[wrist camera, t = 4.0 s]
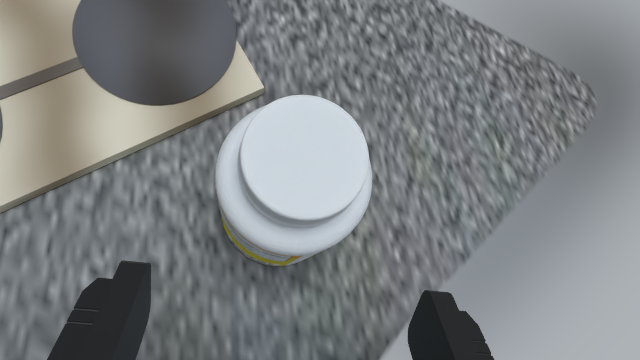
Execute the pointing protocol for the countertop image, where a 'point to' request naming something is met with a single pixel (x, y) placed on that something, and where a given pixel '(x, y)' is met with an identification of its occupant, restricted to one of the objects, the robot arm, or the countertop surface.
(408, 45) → the countertop surface
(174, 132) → the peg stand
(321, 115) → the supplement bottle
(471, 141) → the countertop surface
